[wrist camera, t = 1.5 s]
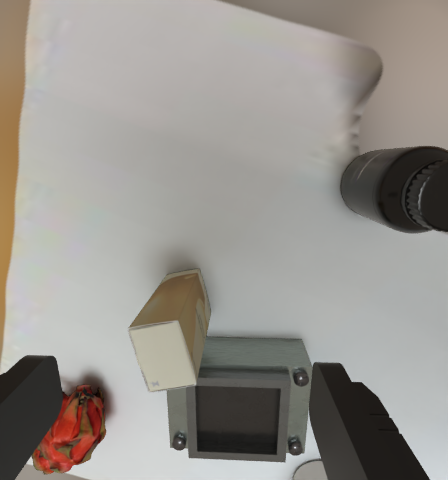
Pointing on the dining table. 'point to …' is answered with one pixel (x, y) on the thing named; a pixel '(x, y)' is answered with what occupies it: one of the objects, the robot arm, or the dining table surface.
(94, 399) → the dragon fruit
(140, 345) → the skincare box
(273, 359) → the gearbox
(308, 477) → the milk bottle
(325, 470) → the robot arm
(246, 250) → the dining table surface
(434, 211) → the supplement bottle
